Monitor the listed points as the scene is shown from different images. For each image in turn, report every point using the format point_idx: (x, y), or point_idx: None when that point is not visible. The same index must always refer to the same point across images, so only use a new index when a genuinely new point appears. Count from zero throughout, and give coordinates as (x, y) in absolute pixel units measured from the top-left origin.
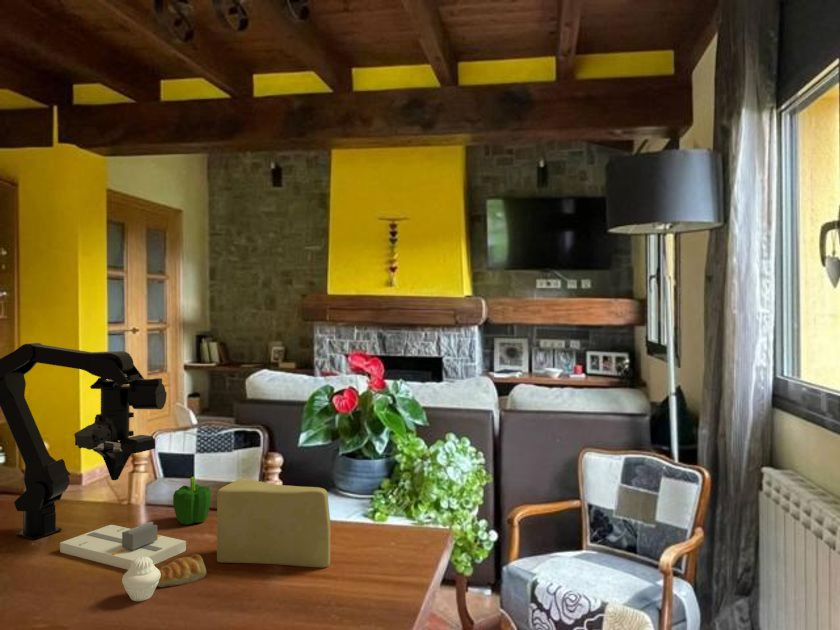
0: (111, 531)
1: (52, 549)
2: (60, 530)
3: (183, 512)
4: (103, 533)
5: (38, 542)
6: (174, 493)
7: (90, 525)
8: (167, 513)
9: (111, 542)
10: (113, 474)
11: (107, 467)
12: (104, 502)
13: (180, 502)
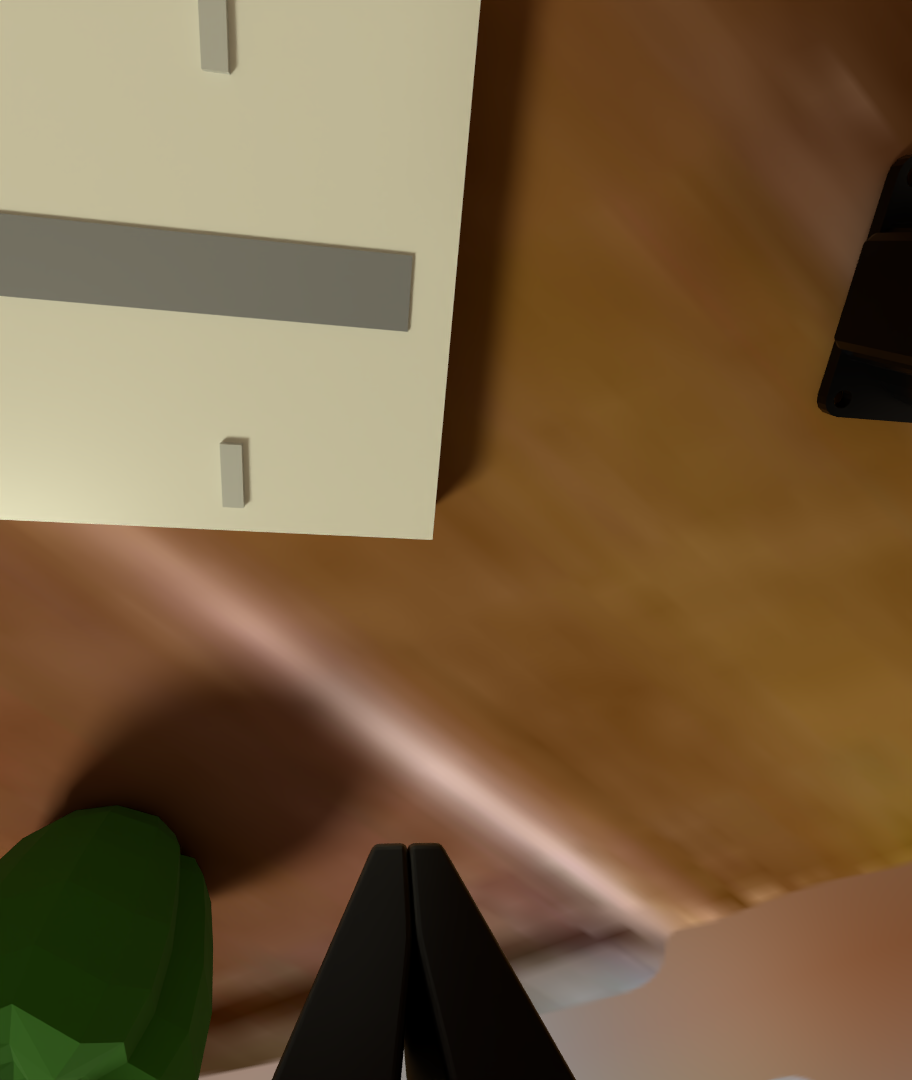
0: (283, 416)
1: (594, 38)
2: (821, 393)
3: (24, 866)
4: (305, 351)
5: (830, 135)
6: (93, 1011)
7: (696, 570)
8: None
9: (2, 180)
10: (355, 936)
11: (546, 1075)
12: (888, 861)
13: (1, 934)
